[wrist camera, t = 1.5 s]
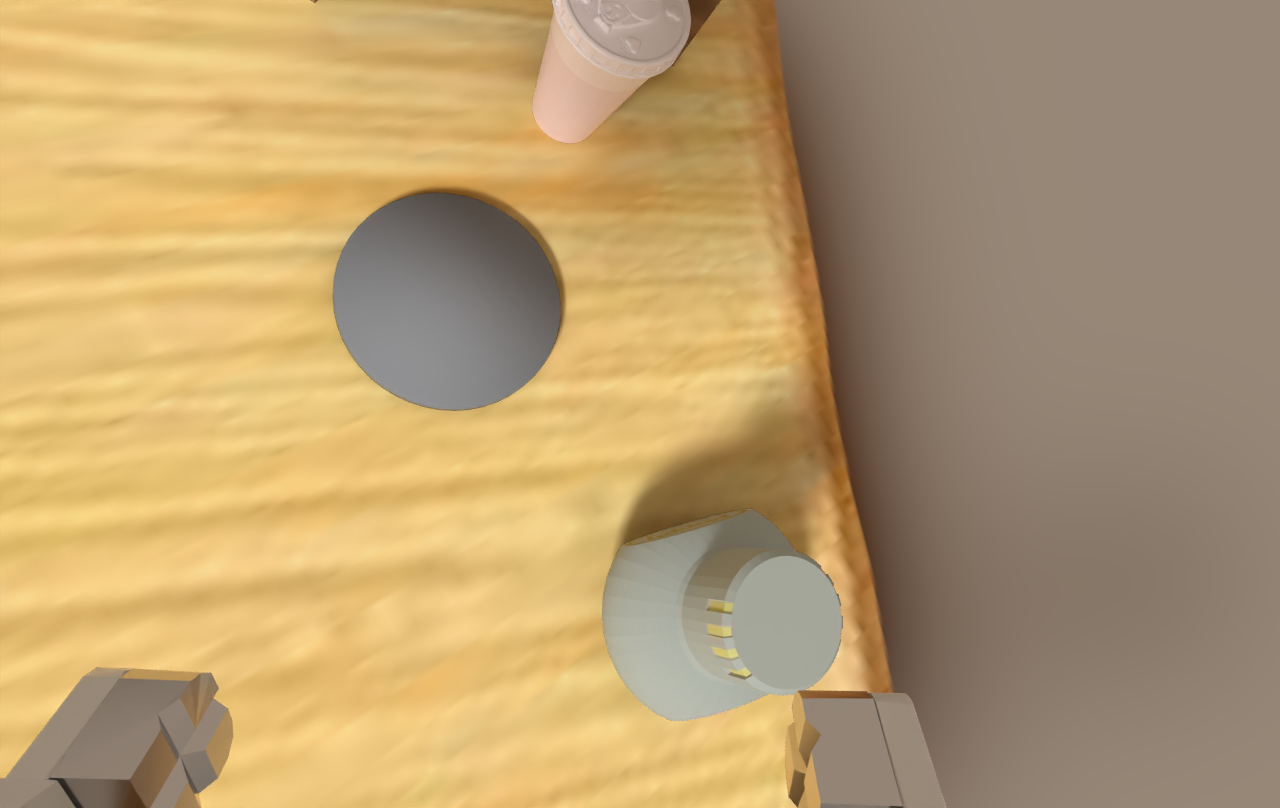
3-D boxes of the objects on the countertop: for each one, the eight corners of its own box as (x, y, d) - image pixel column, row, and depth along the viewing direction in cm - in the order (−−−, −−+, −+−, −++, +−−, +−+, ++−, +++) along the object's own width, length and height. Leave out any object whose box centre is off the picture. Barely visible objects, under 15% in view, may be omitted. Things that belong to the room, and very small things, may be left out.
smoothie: (638, 118, 45) (767, -53, 32) (573, 189, 42) (684, 36, 29) (554, 36, 43) (652, -175, 31) (482, 105, 41) (557, -93, 28)
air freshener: (748, 502, 43) (863, 490, 34) (787, 648, 43) (915, 675, 33) (567, 557, 39) (644, 560, 30) (608, 720, 38) (699, 775, 29)
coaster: (285, 336, 35) (285, 333, 35) (406, 156, 39) (407, 151, 38) (496, 450, 38) (499, 449, 38) (590, 273, 42) (594, 269, 41)
